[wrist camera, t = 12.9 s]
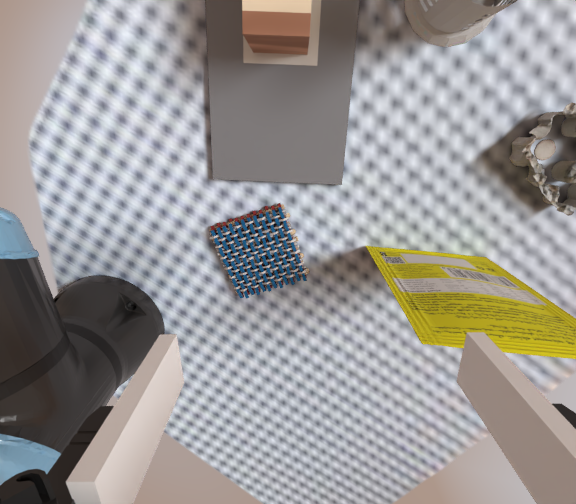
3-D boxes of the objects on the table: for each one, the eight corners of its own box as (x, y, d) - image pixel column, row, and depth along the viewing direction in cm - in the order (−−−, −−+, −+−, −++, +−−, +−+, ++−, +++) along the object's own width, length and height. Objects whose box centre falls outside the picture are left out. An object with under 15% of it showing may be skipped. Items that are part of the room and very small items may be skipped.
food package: (364, 249, 41) (419, 349, 23) (366, 241, 41) (423, 335, 22) (484, 261, 42) (636, 369, 23) (486, 252, 41) (644, 356, 22)
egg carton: (497, 148, 37) (520, 150, 33) (559, 97, 35) (591, 93, 31) (545, 214, 40) (572, 224, 36) (606, 170, 37) (641, 175, 34)
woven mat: (285, 198, 40) (284, 201, 38) (311, 273, 43) (311, 280, 42) (207, 224, 41) (203, 229, 40) (238, 295, 45) (235, 302, 43)
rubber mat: (214, 178, 39) (212, 179, 38) (203, -85, 30) (201, -91, 29) (340, 183, 39) (341, 184, 38) (365, -80, 30) (368, -86, 29)
